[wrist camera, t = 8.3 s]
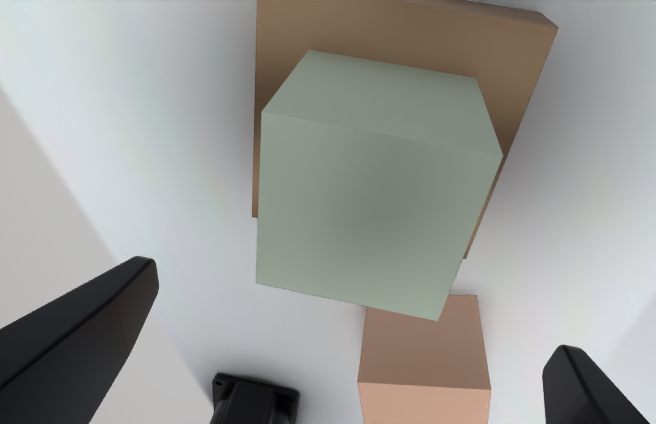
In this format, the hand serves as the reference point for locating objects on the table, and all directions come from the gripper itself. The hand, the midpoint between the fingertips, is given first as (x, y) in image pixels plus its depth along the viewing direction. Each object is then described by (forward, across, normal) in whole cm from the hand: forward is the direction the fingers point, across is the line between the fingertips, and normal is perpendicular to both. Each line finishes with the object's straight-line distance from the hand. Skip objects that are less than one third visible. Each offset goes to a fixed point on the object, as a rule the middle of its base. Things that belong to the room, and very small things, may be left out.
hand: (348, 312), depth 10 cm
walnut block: (+12, 0, 0) cm, 12 cm away
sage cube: (+9, 0, 0) cm, 9 cm away
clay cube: (+12, -5, +13) cm, 18 cm away
